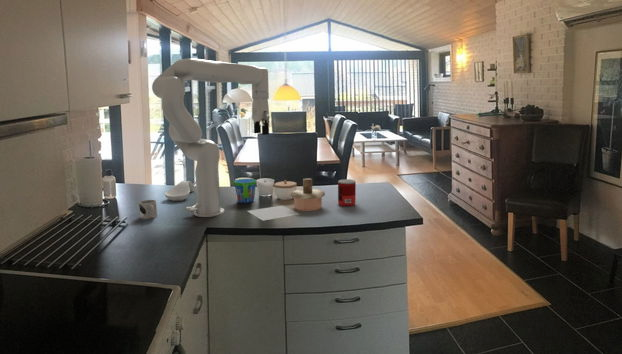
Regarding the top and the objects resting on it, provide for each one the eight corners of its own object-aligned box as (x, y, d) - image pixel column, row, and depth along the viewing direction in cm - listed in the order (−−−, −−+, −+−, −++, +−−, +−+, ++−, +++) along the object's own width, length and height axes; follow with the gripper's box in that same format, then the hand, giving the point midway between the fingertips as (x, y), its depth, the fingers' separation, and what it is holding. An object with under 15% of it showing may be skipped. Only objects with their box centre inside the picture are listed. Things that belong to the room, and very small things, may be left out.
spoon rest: (185, 203, 205) (184, 188, 204) (161, 203, 206) (159, 188, 205) (201, 191, 229) (200, 178, 227) (179, 191, 229) (178, 178, 228)
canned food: (358, 204, 198) (359, 180, 196) (347, 207, 192) (348, 183, 190) (345, 201, 203) (345, 178, 201) (334, 204, 197) (334, 181, 195)
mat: (262, 221, 173) (262, 220, 173) (246, 212, 187) (246, 210, 187) (300, 215, 181) (300, 214, 181) (282, 206, 196) (282, 205, 195)
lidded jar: (298, 196, 214) (297, 178, 212) (295, 202, 203) (294, 182, 201) (276, 196, 215) (276, 178, 213) (272, 201, 204) (272, 182, 203)
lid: (301, 200, 181) (300, 184, 180) (284, 193, 194) (284, 178, 193) (331, 196, 189) (331, 180, 187) (313, 189, 201) (313, 174, 200)
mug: (138, 216, 182) (136, 201, 181) (154, 214, 186) (153, 199, 185) (145, 222, 175) (144, 206, 173) (162, 219, 179) (161, 203, 177)
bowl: (302, 213, 184) (302, 199, 183) (289, 207, 195) (289, 193, 193) (326, 209, 190) (326, 195, 189) (313, 203, 200) (312, 190, 199)
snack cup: (236, 198, 213) (235, 177, 211) (258, 197, 213) (257, 177, 211) (232, 206, 197) (231, 184, 196) (256, 205, 198) (255, 183, 196)
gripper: (245, 96, 202) (247, 132, 205) (259, 95, 187) (260, 135, 190) (260, 95, 206) (262, 132, 209) (275, 95, 191) (276, 134, 194)
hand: (261, 133), depth 199 cm, fingers open, 9 cm apart
